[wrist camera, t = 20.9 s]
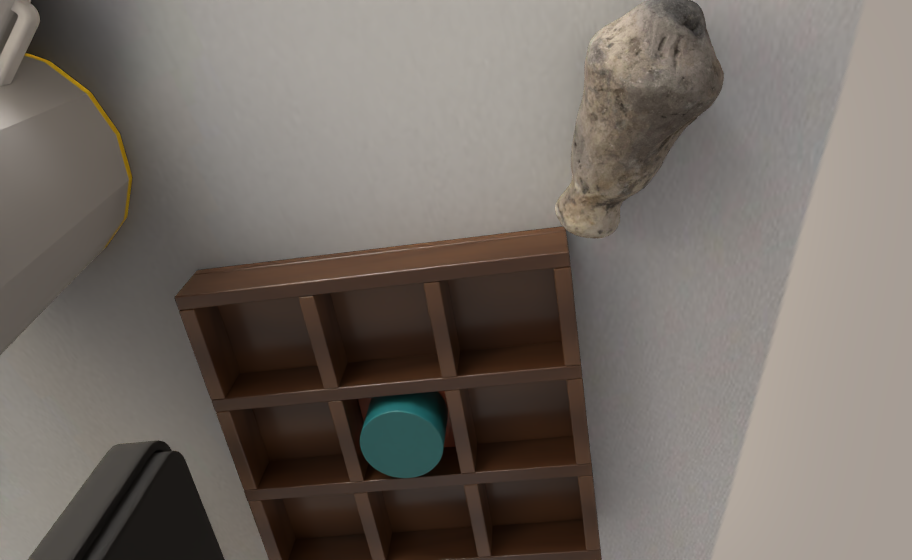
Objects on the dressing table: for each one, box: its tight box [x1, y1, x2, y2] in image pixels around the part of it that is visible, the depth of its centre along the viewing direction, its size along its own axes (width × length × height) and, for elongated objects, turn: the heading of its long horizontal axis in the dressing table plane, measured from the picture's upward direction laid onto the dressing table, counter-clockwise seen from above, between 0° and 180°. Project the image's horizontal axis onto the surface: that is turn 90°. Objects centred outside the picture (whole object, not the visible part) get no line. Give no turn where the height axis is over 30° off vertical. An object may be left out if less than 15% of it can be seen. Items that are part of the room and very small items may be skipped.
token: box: [360, 391, 448, 478], centre depth 41 cm, size 4×4×3 cm
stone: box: [555, 0, 724, 238], centre depth 33 cm, size 10×5×8 cm
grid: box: [175, 226, 602, 560], centre depth 42 cm, size 19×19×3 cm
